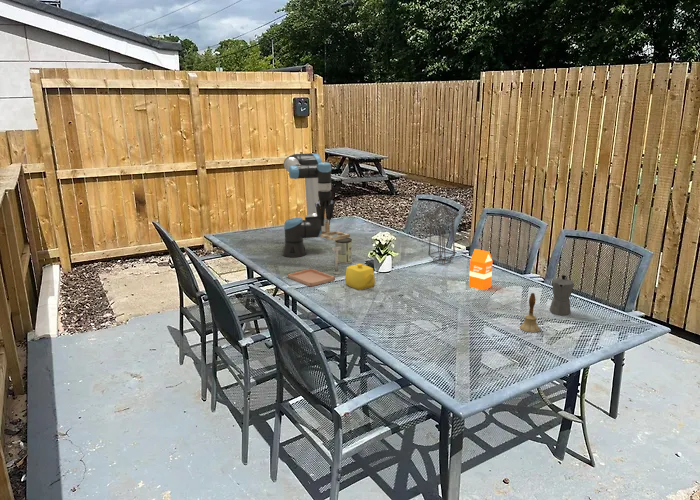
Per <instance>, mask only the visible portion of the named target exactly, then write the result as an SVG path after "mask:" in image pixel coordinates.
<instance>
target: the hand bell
mask: <svg viewBox="0 0 700 500" xmlns="http://www.w3.org/2000/svg"><path fill="white" fill-rule="evenodd" d="M536 300H537V299H536V295H535V293H534V292H532V293H530V296H529V299H528V305H529V311H528V314H527V315H526V316H524V321H523V323H522V324H521V325H520V326H519V329H520V330H521V331H523V332H526V333H537V332H540V331H541V328H540V327H539V325H538V323H537V317H536V316H535V315H534V308H535V305H536Z"/></svg>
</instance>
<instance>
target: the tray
mask: <svg viewBox="0 0 700 500" xmlns="http://www.w3.org/2000/svg"><path fill="white" fill-rule="evenodd" d="M287 278H288V279H290V280H292V281H295V282H297V283H300V284H302V285H304V286H307V285H308V287H310V288H311V287H312V288H313V287H315V286H319V285H323V284H327V283H330V282H333V281H335V280H336V277H335V276H334V275H331V274H328V273H326V272H323V271H319V270H317V269H314V268H312V267H311V268H307V269H303V270H298V271H296V272H295V271H294V272H291V273H287Z"/></svg>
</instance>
